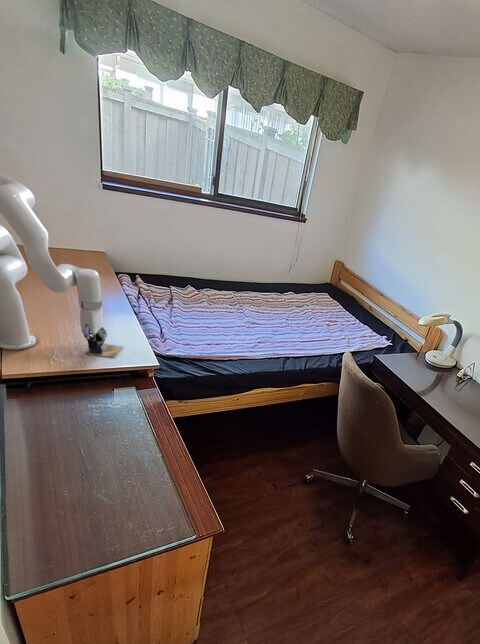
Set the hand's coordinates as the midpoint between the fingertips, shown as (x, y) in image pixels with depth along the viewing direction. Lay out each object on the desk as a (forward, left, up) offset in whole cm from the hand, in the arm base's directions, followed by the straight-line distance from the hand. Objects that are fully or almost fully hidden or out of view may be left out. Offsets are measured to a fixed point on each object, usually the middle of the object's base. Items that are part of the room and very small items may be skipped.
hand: (96, 345), depth 154 cm
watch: (0, +1, -3) cm, 3 cm away
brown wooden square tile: (+3, +2, -3) cm, 4 cm away
